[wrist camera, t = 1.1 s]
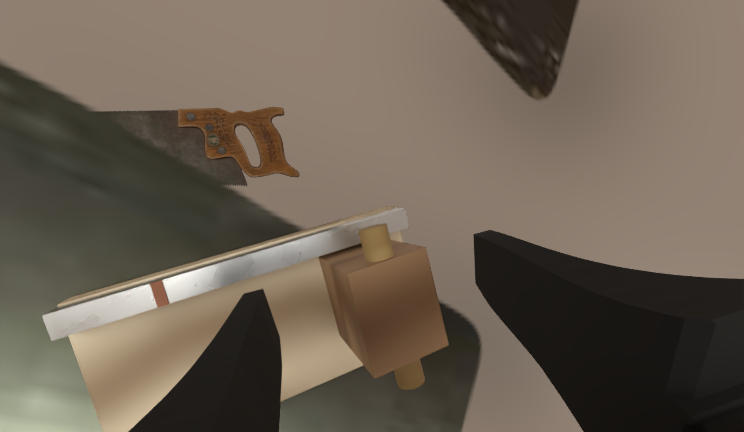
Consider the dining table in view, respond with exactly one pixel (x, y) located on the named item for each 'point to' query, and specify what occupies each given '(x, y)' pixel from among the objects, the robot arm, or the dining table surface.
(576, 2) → the dining table surface
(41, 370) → the dining table surface
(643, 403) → the robot arm
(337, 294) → the brown knobbed block
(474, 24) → the dining table surface
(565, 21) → the dining table surface
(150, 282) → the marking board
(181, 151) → the hand saw
